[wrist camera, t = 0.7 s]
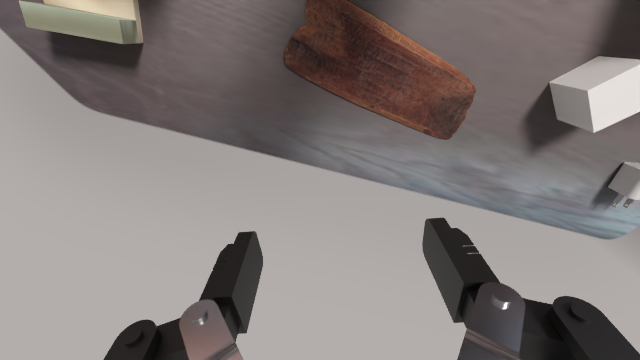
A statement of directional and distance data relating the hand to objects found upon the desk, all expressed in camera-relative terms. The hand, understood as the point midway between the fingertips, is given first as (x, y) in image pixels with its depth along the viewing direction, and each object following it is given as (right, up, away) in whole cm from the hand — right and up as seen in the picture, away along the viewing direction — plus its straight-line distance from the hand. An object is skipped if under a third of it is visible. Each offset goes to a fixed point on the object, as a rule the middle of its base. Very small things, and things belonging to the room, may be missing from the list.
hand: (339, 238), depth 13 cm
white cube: (+34, +15, +24) cm, 44 cm away
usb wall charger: (+48, +3, +31) cm, 57 cm away
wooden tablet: (+8, +17, +24) cm, 30 cm away
